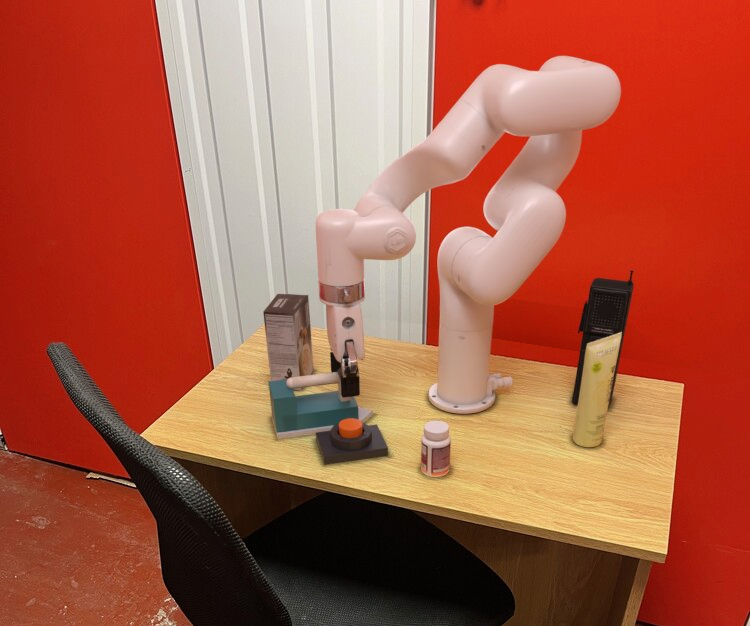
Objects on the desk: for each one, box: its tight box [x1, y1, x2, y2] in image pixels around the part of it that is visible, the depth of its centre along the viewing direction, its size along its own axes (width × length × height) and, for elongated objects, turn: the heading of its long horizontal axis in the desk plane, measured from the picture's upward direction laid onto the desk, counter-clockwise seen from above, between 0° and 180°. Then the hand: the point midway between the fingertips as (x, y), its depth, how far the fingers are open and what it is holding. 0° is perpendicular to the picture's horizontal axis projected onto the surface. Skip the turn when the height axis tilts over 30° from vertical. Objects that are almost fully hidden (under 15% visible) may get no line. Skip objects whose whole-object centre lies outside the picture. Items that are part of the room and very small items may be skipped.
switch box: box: [315, 422, 389, 466], centre depth 133 cm, size 11×8×4 cm
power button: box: [339, 418, 363, 438], centre depth 132 cm, size 4×4×2 cm
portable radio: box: [571, 269, 635, 410], centre depth 139 cm, size 8×6×25 cm
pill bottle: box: [420, 419, 452, 478], centre depth 126 cm, size 5×5×8 cm
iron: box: [268, 366, 374, 440], centre depth 138 cm, size 18×8×10 cm, turn 103°
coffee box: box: [262, 293, 314, 391], centre depth 150 cm, size 9×6×16 cm
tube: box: [572, 332, 622, 448], centre depth 129 cm, size 6×5×20 cm
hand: (345, 383), depth 138 cm, fingers open, 8 cm apart
